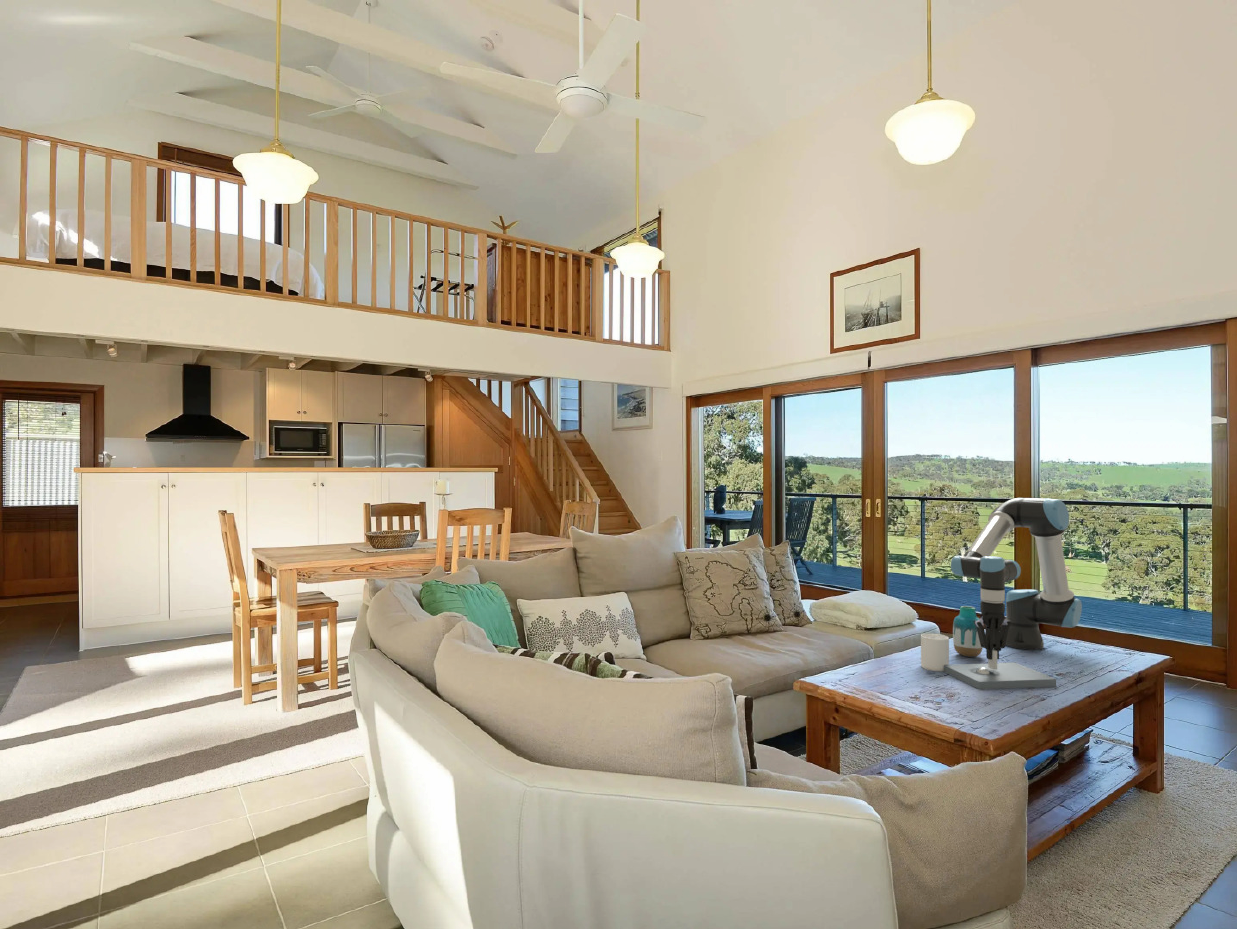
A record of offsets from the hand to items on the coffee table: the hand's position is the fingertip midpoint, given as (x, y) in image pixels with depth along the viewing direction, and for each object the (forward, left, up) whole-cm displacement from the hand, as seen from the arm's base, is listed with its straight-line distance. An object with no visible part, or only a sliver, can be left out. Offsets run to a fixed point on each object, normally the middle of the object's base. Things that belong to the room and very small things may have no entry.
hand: (992, 668), depth 239 cm
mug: (+13, -16, -4) cm, 21 cm away
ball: (+3, 0, -2) cm, 4 cm away
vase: (-10, -29, -4) cm, 31 cm away
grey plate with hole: (-2, 0, -4) cm, 4 cm away
